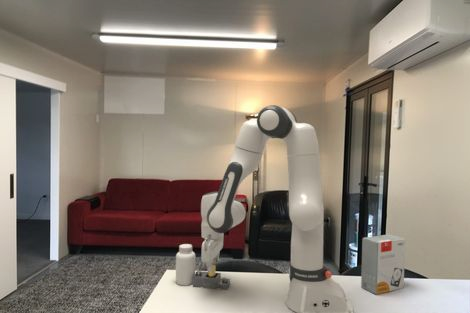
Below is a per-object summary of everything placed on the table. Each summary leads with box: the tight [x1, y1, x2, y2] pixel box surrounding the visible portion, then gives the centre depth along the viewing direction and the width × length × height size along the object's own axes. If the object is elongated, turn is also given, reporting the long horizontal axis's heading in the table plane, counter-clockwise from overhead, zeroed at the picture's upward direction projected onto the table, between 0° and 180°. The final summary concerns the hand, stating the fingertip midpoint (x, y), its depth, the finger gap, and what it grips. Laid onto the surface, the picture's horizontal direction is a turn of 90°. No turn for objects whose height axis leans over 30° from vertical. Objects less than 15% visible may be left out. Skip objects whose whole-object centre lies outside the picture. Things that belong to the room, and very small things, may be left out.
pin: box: [207, 263, 216, 278], centre depth 126 cm, size 3×3×8 cm
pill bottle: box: [175, 243, 196, 286], centre depth 129 cm, size 8×8×15 cm
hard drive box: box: [360, 233, 406, 295], centre depth 123 cm, size 16×8×20 cm, turn 114°
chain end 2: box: [202, 277, 231, 291], centre depth 125 cm, size 10×6×3 cm, turn 79°
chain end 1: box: [192, 270, 222, 288], centre depth 126 cm, size 10×6×5 cm, turn 79°
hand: (213, 266), depth 125 cm, fingers open, 8 cm apart
